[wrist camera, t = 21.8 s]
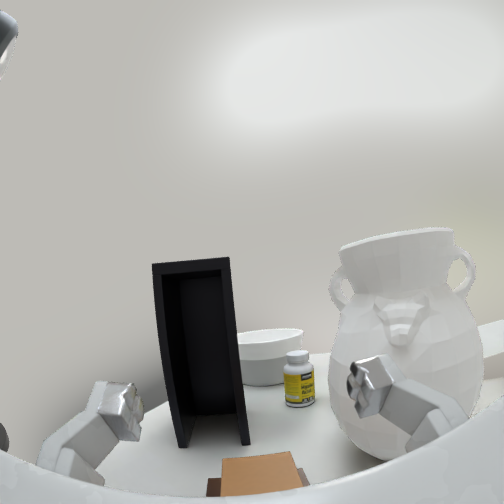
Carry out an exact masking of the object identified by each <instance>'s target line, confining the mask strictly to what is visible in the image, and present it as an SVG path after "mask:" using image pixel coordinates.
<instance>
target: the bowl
mask: <svg viewBox="0 0 504 504" xmlns="http://www.w3.org/2000/svg"><path fill="white" fill-rule="evenodd" d="M303 334H304V332H303V331H302V330H300V329H292V328H287V329H285V328H281V329H267V330H257V331H249V332H243V333H238V334H237V338H238V347H239V356H240V364H241V373H242V381H243V384H246V385H251V386H269V385H276V384H280V383H284V374H283V368H284V366H285V365H286V364H288V362H287V360H286V354H287V353H288V352H291V351H297V350H301V346H302V340H303Z"/></svg>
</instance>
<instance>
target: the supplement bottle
mask: <svg viewBox="0 0 504 504" xmlns="http://www.w3.org/2000/svg"><path fill="white" fill-rule="evenodd" d="M286 360H287V362H288V364H286V365H285V366H284V368H283V374H284V388H285V401H286V404H287V405H289V406H292V407H303V406H307V405H310V404H312V403H313V402H314V400H315V389H314V368H313V365H312V363H310V362H308V360H309V352H308V351H305V350H297V351H291V352H288V353H287V354H286Z"/></svg>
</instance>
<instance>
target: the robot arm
mask: <svg viewBox="0 0 504 504" xmlns="http://www.w3.org/2000/svg"><path fill="white" fill-rule="evenodd" d="M17 36H18V26H17V21H16V20H15V19H14V18H12V17H11V16H10V15H8V14H7V13H5V12H3V11H1V10H0V80H1V79H2V77H3V75H4V74H5V72H6V70H7V68H8V65H9V63H10V60H11V58H12V54H13V51H14V47H15V40H16V38H17ZM350 371H351V373H350V375H349V376H348V377H347V381H346V387H347V392H348V395H349V397H350V398H351V399H352V400H354V401H356V402H355V405H354V407H355V409H356V411H357V414H358V416H359V418H360V419H361V418H365V417H368V416H372V415H375V414H378V413H379V414H380V415H381V416H382V417H384V418H385V419H387V420H388V421H390V422H391V423H393V424H394V425H396V426H397V427H399V428H400V429H402V430H403V431H405V432H406V433H408V434H409V435H411V438H410V439H409V441H408V442H407V443H406V445H405V447H404V448H405V450H406V452H407V454H404V455H402V456H400V457H398V458H395V459H393V460H390V461H388V462H385V463H383V464H380V465H378V466H375V467H372V468H369V469H366V470H364V471H361V472H358V473H355V474H351V475H348V476H345V477H341V478H338V479H334V480H331V481H327V482H323V483H319V484H314V485H310V486H305V487H300V488H295V489H290V490H284V491H277V492H270V493H262V494H253V495H242V496H225V497H183V496H167V495H156V494H147V493H139V492H132V491H126V490H120V489H115V488H110V487H105V486H104V483H105V479H104V478H103V477H102V476H101V475H100V474H99V473H98V472H96V471H95V469H96V468H97V467H98V465H99V464H100V463H101V462H102V461H103V460H104V459H105V458H106V456H107V455H108V454H109V453H110V452H111V451H112V449H113V448H114V447H115V446H116V445H117V444H118V443H119V440H124V441H136V442H139V440H140V434H141V429H142V428H141V427H140V425H139V423H140V422H141V421H142V420H143V417H144V405H143V401H142V399H141V397H139V396H138V395H137V394H136V391H137V389H136V387H135V385H134V384H131V383H118V382H104V381H97V382H96V383H95V385H94V387H93V390H92V393H91V396H90V398H89V400H88V403H87V406H86V409H85V411H81V412H80V413H78V414H77V415H76V416H75V417H73V418H72V419H71V420H69V421H68V422H67V423H66V424H64V425H63V426H62V427H61V428H59V429H58V430H57V431H55V432H54V433H53V434H52V435H50V436H49V437H48V438H46V439H45V440H44V442H43V444H42V447H41V450H40V453H39V455H38V458H37V461H36V465H34V464H31V463H29V462H26V461H24V460H22V459H20V458H17V457H15V456H13V455H11V454H9V453H7V452H5V451H3V450H1V449H0V504H504V395H502V396H501V397H500V398H499V399H497V400H496V401H495V402H493V403H492V404H491V405H489V406H488V407H487V408H485V409H484V410H482V411H481V412H479V413H478V414H476V415H475V416H474V417H472V418H469V417H468V415H467V414H466V413H465V411H464V410H463V408H462V407H461V406H460V404H459V403H458V402H457V400H456V399H455V398H454V397H451V396H449V395H447V394H444V393H442V392H440V391H437V390H435V389H433V388H431V387H428V386H426V385H424V384H422V383H419V382H417V381H415V380H413V379H411V378H409V379H406V377H405V376H404V374H403V373H402V372H401V370H400V369H399V367H398V366H397V365H396V363H395V362H394V360H393V359H392V358H391V356H390V355H389V354H388V353H384V354H381V355H377V356H373V357H369V358H365V359H361V360H357V361H353V362H352V363H351V365H350Z"/></svg>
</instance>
